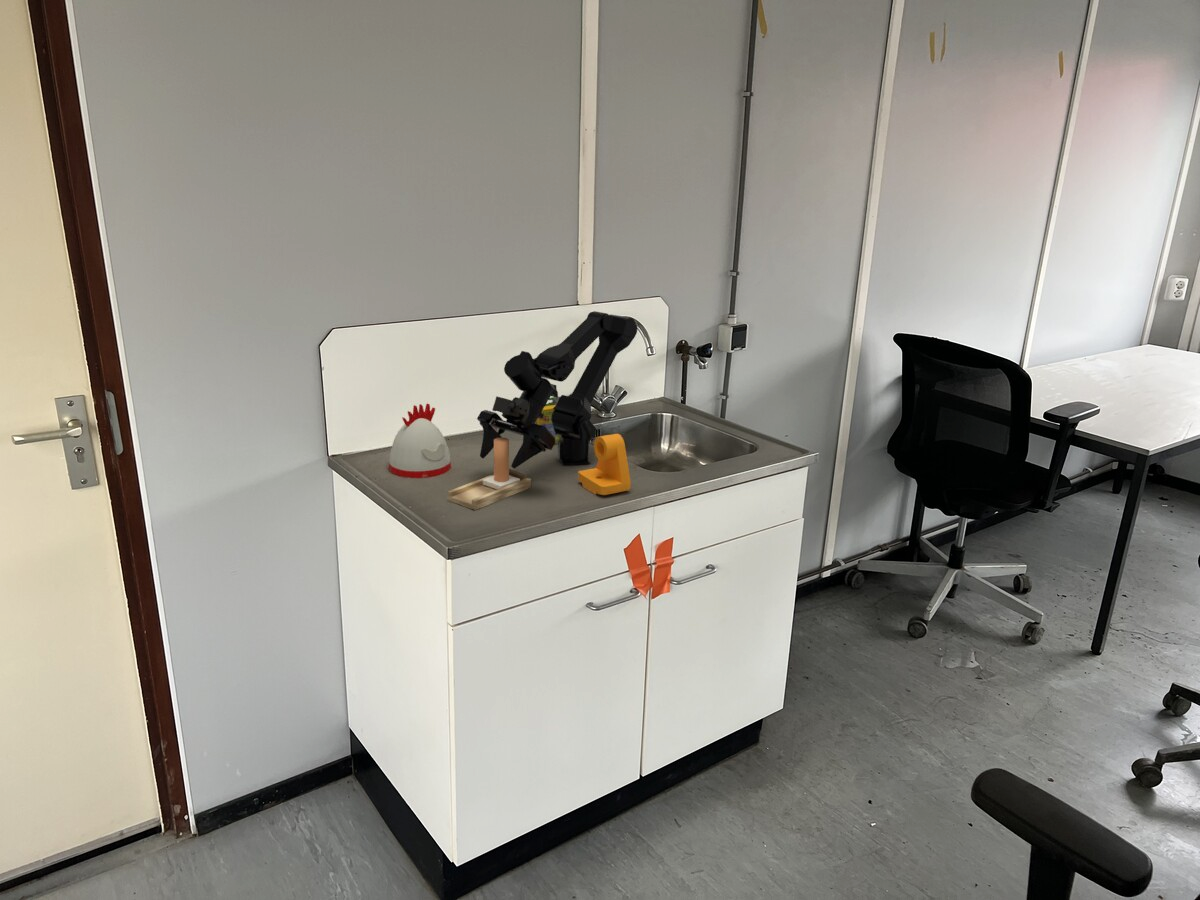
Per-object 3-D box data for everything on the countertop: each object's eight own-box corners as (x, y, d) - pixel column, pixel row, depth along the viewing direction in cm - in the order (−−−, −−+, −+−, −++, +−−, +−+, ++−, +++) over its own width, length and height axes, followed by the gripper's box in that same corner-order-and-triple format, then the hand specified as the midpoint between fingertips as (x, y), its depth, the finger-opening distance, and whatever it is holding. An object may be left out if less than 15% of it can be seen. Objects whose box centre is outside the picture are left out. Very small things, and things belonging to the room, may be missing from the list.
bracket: (576, 482, 197) (577, 431, 193) (603, 477, 201) (605, 427, 197) (602, 499, 189) (604, 446, 185) (630, 493, 192) (632, 441, 188)
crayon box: (538, 447, 219) (539, 402, 215) (533, 444, 221) (533, 399, 217) (564, 443, 222) (565, 399, 219) (558, 440, 225) (559, 396, 221)
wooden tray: (504, 478, 198) (503, 466, 197) (530, 487, 193) (530, 474, 192) (447, 500, 185) (447, 486, 184) (475, 510, 180) (475, 496, 179)
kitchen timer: (462, 469, 203) (461, 406, 198) (410, 482, 194) (408, 417, 189) (429, 453, 212) (427, 393, 207) (378, 465, 203) (374, 403, 198)
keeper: (501, 476, 195) (501, 434, 192) (520, 483, 192) (520, 439, 189) (482, 484, 191) (482, 440, 187) (500, 490, 188) (500, 446, 184)
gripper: (482, 374, 192) (446, 433, 188) (547, 390, 182) (510, 453, 177) (507, 401, 201) (473, 459, 196) (570, 418, 190) (536, 480, 186)
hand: (496, 462), depth 189 cm, fingers open, 9 cm apart
